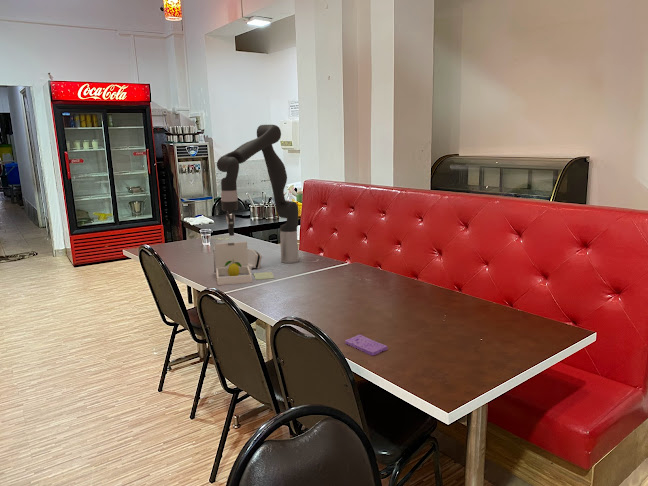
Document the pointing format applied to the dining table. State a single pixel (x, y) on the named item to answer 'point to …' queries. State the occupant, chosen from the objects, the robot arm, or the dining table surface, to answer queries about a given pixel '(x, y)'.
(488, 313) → the dining table surface
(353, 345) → the sponges
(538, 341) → the dining table surface
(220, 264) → the case
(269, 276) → the mat
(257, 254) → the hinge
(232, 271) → the lemon
